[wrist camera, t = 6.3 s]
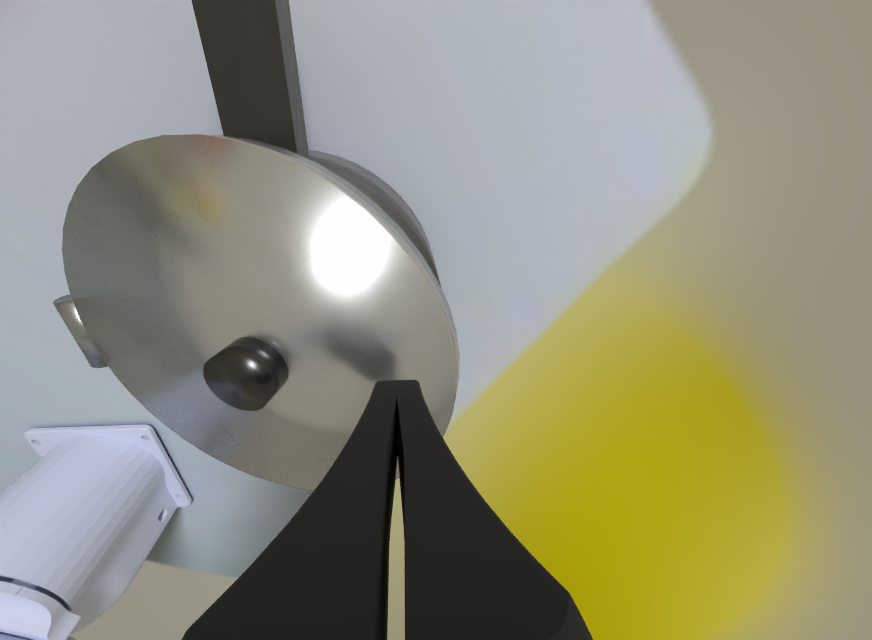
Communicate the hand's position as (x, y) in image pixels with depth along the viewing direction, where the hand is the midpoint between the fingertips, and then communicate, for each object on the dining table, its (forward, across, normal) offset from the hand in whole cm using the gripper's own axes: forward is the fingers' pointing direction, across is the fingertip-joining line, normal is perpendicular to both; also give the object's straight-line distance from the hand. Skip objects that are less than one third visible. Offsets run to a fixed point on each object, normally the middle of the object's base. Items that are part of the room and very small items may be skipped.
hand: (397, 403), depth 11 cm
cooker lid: (+4, +5, 0) cm, 7 cm away
